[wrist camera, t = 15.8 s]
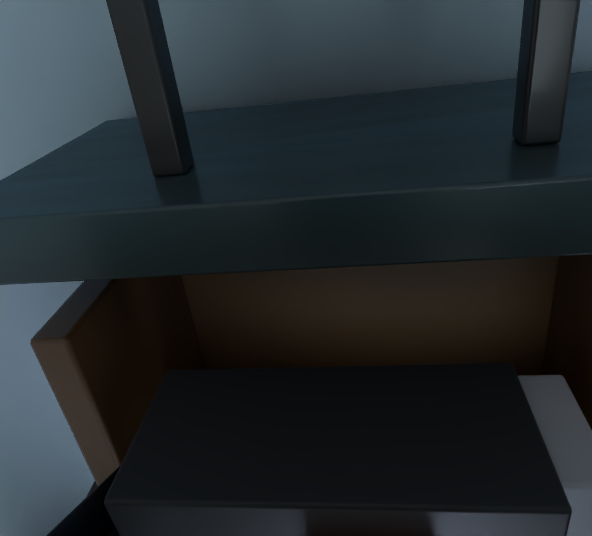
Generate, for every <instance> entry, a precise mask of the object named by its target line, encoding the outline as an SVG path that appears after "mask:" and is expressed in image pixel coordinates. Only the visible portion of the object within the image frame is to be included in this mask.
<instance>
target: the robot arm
mask: <svg viewBox="0 0 592 536" xmlns="http://www.w3.org/2000/svg"><path fill="white" fill-rule="evenodd" d="M120 466H121V465H120ZM120 466H119V467H118V468H117V469H116V470H115V471H114V472H112V473H111V474H110V475H109V476H108V477H107V478H106V479H105V480H104V481H103V482H102V483H101V484H100V485H99V486H98V487H97V488H96V489H95V490H94V491H93V492H92V493H91V494H89V495H88V496H87V497H86V498H85V499H84V500H83V501H82V502H81V503H80V504H79V505H78V506H77V507H76V508H75V509H74V510H73V511H72V512H71V513H70V514H69V515H68V516H67V517H65V518H64V519H63V520H62V521H61V522H60V523H59V524H58V525H57V526H56V527H55V528H54V529H53V530H52V531H51V532H50V533H49V534H48V535H47V536H120V535H119V533H118V531H117V529H116V527H115V525H114V524H113V522H112V520H111V518H110V516H109V514H108V511H107V509H106V507H105V505H104V500H105V497H106V495H107V493H108V491H109V489H110V487H111V485H112V482H113V480H114V478H115V476H116V474H117V472H118V470H119V468H120Z"/></svg>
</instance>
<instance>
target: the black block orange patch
mask: <svg viewBox="0 0 592 536" xmlns="http://www.w3.org/2000/svg"><path fill="white" fill-rule="evenodd" d="M104 505H105V507H106V509H107V511H108V514H109V516H110V518H111V520H112V522H113V524H114V525H115V527H116V529H117V531H118V533H119V535H120V536H592V430H591V428H590V426H589V424H588V422H587V420H586V418H585V417H584V415H583V413H582V411H581V409H580V407H579V405H578V403H577V401H576V399H575V397H574V396H573V394H572V392H571V390H570V388H569V386H568V384H567V382H566V380H565V378H564V377H563V376H562V375H518V376H517V374H516V371H515V369H514V366H513V364H512V363H509V362H507V363H462V364H418V365H373V366H329V367H284V368H239V369H195V370H168V371H167V372H166V373H165V375H164V377H163V379H162V381H161V383H160V385H159V387H158V390H157V392H156V394H155V396H154V398H153V400H152V402H151V404H150V406H149V408H148V410H147V412H146V414H145V416H144V418H143V421H142V423H141V425H140V427H139V429H138V431H137V433H136V435H135V437H134V439H133V441H132V443H131V445H130V447H129V449H128V451H127V454H126V456H125V458H124V460H123V462H122V464H121V466H120V468H119V470H118V472H117V474H116V476H115V478H114V480H113V482H112V485H111V487H110V489H109V491H108V493H107V495H106V497H105V500H104Z"/></svg>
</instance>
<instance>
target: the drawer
mask: <svg viewBox="0 0 592 536" xmlns="http://www.w3.org/2000/svg"><path fill="white" fill-rule="evenodd" d="M106 2H107V6H108V9H109V13H110V17H111V20H112V24H113V28H114V32H115V35H116V39H117V43H118V47H119V50H120V54H121V58H122V61H123V65H124V69H125V73H126V76H127V80H128V84H129V87H130V91H131V95H132V99H133V102H134V106H135V110H136V113H137V117H138V118H129V119H119V120H110V121H105V122H104V123H102V124H100V125H98V126H97V127H95V128H93V129H91V130H90V131H88V132H86V133H84V134H82V135H81V136H79V137H77V138H75V139H74V140H72V141H70V142H68V143H67V144H65V145H63V146H61V147H59V148H58V149H56V150H54V151H52V152H51V153H49V154H47V155H45V156H44V157H42V158H40V159H38V160H36V161H35V162H33V163H31V164H29V165H28V166H26V167H24V168H22V169H20V170H19V171H17V172H15V173H13V174H12V175H10V176H8V177H6V178H5V179H3V180H1V181H0V285H6V284H26V283H45V282H65V281H84V282H83V283H82V284H81V285H80V286H79V287H78V288H77V289H76V290H75V292H74V293H73V294H72V295H71V296H70V297H69V298H68V299H67V300H66V301H65V303H64V304H63V305H62V306H61V307H60V308H59V309H58V310H57V311H56V312H55V314H54V315H53V316H52V317H51V318H50V319H49V320H48V321H47V322H46V324H45V325H44V326H43V327H42V328H41V329H40V330H39V331H38V332H37V333H36V335H35V336H34V337H33V338H32V339H31V346H32V348H33V350H34V352H35V354H36V357H37V359H38V361H39V363H40V365H41V367H42V369H43V371H44V374H45V376H46V378H47V380H48V382H49V384H50V386H51V388H52V390H53V393H54V395H55V397H56V399H57V401H58V403H59V405H60V407H61V409H62V412H63V414H64V416H65V418H66V420H67V422H68V424H69V426H70V428H71V431H72V433H73V435H74V437H75V439H76V441H77V443H78V445H79V447H80V450H81V452H82V454H83V456H84V458H85V460H86V462H87V464H88V466H89V469H90V471H91V473H92V475H93V477H94V479H95V481H96V483H97V486H99V485H100V484H101V483H102V482H103V481H104V480H105V479H106V478H107V477H108V476H109V475H110V474H111V473H112V472H114V471H115V470H116V469H117V468H118V467H119V466H120V465H121V464H122V462H123V460H124V458H125V456H126V454H127V451H128V449H129V447H130V445H131V443H132V441H133V439H134V437H135V435H136V433H137V431H138V429H139V427H140V425H141V423H142V421H143V418H144V416H145V414H146V412H147V410H148V408H149V406H150V404H151V402H152V400H153V398H154V396H155V394H156V392H157V390H158V387H159V385H160V383H161V381H162V379H163V377H164V375H165V373H166V372H167V371H168V370H195V369H239V368H284V367H329V366H373V365H418V364H462V363H507V362H509V363H512V364H513V366H514V369H515V371H516V374H517V376H518V375H562V376H563V377H564V378H565V380H566V382H567V384H568V386H569V388H570V390H571V392H572V394H573V396H574V397H575V399H576V401H577V403H578V405H579V407H580V409H581V411H582V413H583V415H584V417H585V418H586V420H587V422H588V424H589V426H590V428H591V430H592V71H588V72H579V73H570V71H571V64H572V57H573V50H574V43H575V35H576V28H577V21H578V14H579V6H580V0H524V7H523V19H522V30H521V41H520V52H519V63H518V74H517V79H510V80H500V81H491V82H481V83H471V84H461V85H452V86H442V87H432V88H422V89H412V90H403V91H393V92H383V93H373V94H364V95H354V96H344V97H334V98H325V99H315V100H305V101H295V102H285V103H276V104H266V105H256V106H246V107H237V108H227V109H217V110H207V111H198V112H188V113H183V110H182V106H181V101H180V97H179V92H178V88H177V84H176V79H175V75H174V70H173V66H172V61H171V57H170V52H169V48H168V43H167V39H166V34H165V30H164V26H163V21H162V17H161V12H160V8H159V3H158V0H106Z"/></svg>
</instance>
